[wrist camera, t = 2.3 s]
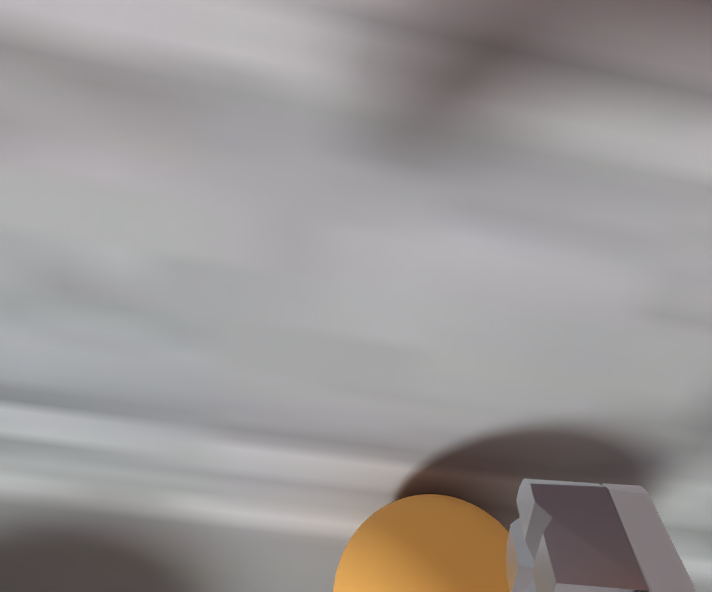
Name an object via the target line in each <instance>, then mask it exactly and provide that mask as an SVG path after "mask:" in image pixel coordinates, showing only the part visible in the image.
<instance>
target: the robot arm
mask: <svg viewBox="0 0 712 592" xmlns="http://www.w3.org/2000/svg"><path fill="white" fill-rule="evenodd" d="M516 502H517V507H518V511H519V516H520V517H519V518H518V519H517V520H515V521H514V522H513V523H511V524H510V529H509V534H508V539H507V552H506V569H507V580H508V586H509V592H697V591H696V589H695V587H694V585H693V583H692V581H691V579H690V577H689V575H688V573H687V571H686V569H685V567H684V565H683V563H682V561H681V559H680V557H679V555H678V553H677V551H676V549H675V546H674V544H673V542H672V540H671V538H670V536H669V534H668V532H667V530H666V528H665V526H664V524H663V522H662V520H661V518H660V516H659V514H658V512H657V510H656V508H655V506H654V504H653V502H652V500H651V498H650V496H649V494H648V492H647V491H646V490H645V489H644V488H643V487H642V486H638V485H621V484H604V483H602V484H597V483H584V482H569V481H554V480H539V479H523V481H522V483H521V484H520V486H519V490H518V494H517V498H516Z"/></svg>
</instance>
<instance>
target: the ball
mask: <svg viewBox="0 0 712 592" xmlns="http://www.w3.org/2000/svg"><path fill="white" fill-rule="evenodd" d="M508 534H509V532H508V531H507V530H506V529H505V528H504V527H503V526H502V525H501V524H500V523H499V521H497V520H496V519H495V518H493V517H492V516H491V515H489V514H488V513H487V512H486V511H484V510H482V509H481V508H479V507H477V506H475V505H473V504H471V503H469V502H466V501H464V500H462V499H458V498H455V497H451V496H446V495H438V494H424V495H415V496H409V497H406V498H402V499H399V500H397V501H394V502H392V503H390V504H388V505H386V506H384V507H383V508H381V509H379V510H378V511H376V512H375V513H374V514H373V515H372V516H370V517H369V518H368V519H367V520H366V521H365V522H364V523H363V524H362V525H361V526H360V527H359V528H358V530H357V531H356V532H355V534H354V535H353V536H352V538H351V539H350V541H349V543H348V544H347V546H346V548H345V550H344V552H343V554H342V557H341V560H340V562H339V565H338V569H337V572H336V577H335V583H334V589H333V592H509V586H508V580H507V569H506V552H507V539H508Z"/></svg>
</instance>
